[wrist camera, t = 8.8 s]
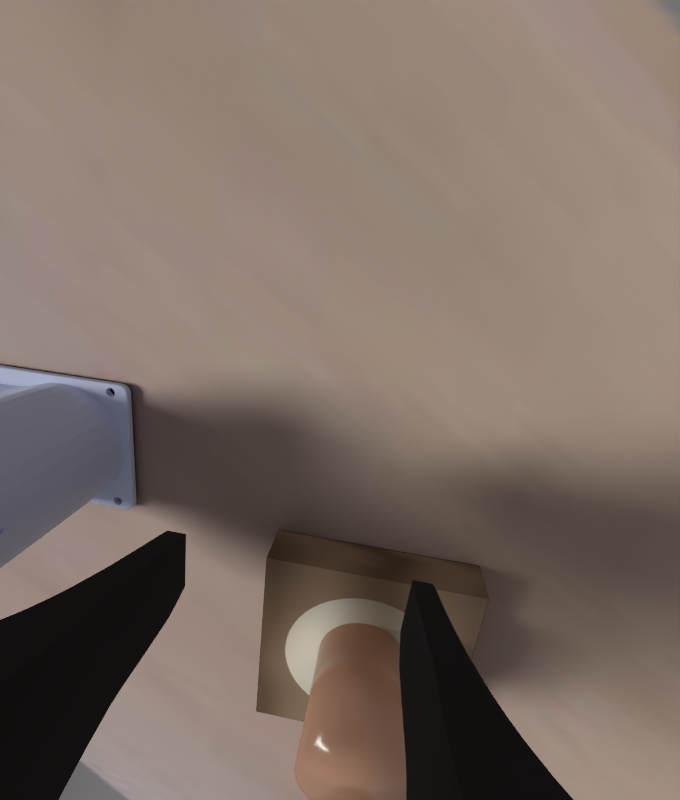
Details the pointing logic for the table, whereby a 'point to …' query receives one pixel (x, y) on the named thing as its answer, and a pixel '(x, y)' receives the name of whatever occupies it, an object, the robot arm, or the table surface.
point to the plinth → (345, 606)
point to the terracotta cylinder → (354, 719)
